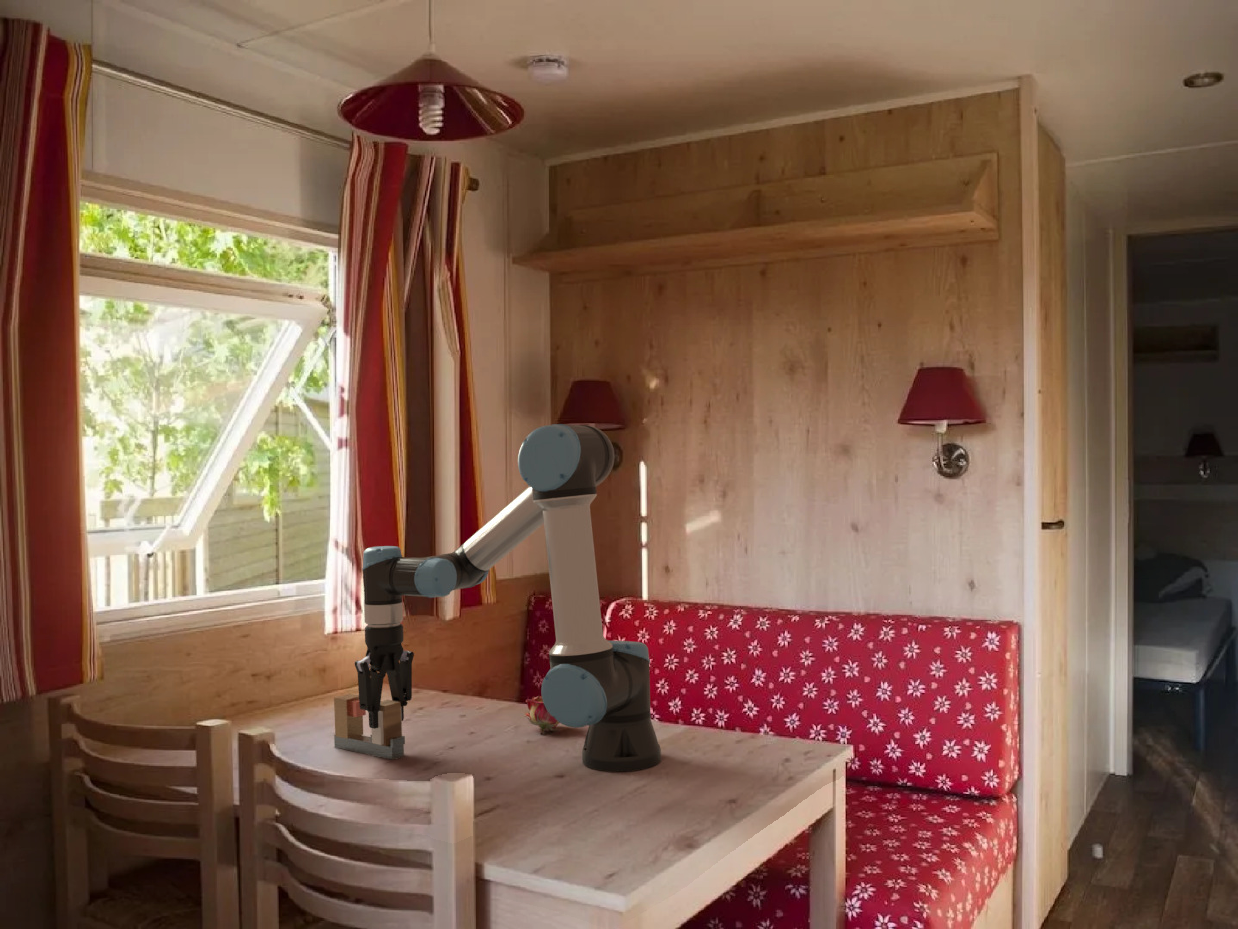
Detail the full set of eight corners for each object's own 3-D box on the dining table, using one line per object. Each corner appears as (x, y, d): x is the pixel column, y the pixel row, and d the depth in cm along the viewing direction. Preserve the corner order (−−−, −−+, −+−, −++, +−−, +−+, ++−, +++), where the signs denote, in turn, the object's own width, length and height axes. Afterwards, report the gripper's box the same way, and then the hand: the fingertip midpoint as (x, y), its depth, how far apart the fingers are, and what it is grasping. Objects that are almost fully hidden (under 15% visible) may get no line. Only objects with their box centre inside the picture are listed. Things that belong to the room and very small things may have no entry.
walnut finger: (401, 741, 221) (400, 702, 221) (385, 746, 218) (384, 706, 218) (381, 737, 225) (380, 698, 225) (366, 742, 222) (365, 702, 222)
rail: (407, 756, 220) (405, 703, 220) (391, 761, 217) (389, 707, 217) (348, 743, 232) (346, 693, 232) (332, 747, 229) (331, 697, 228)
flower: (562, 730, 230) (569, 694, 235) (519, 722, 230) (527, 687, 235) (561, 746, 238) (567, 711, 243) (519, 738, 238) (526, 704, 243)
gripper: (404, 617, 230) (407, 729, 230) (337, 628, 216) (340, 748, 216) (428, 619, 225) (432, 734, 225) (361, 632, 212) (365, 753, 212)
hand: (387, 740), depth 221 cm, fingers closed on walnut finger, 4 cm apart
